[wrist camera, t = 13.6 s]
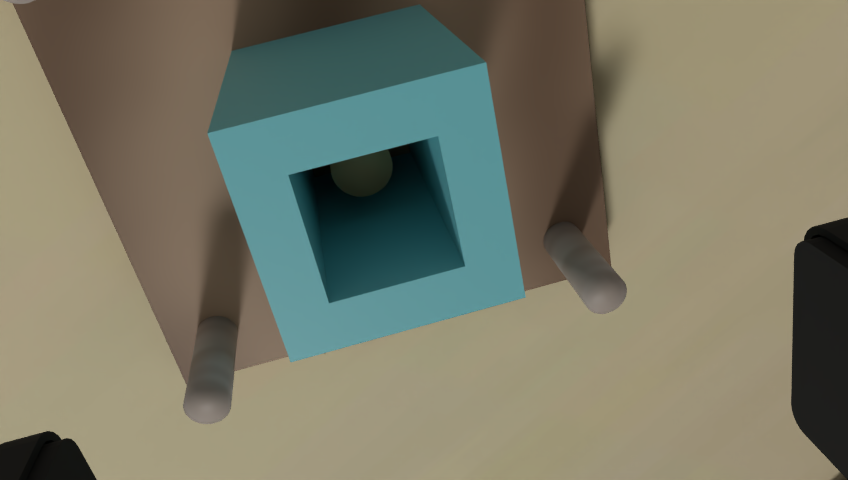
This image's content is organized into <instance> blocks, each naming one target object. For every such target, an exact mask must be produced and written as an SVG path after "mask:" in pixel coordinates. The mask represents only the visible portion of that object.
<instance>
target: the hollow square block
mask: <svg viewBox="0 0 848 480" xmlns="http://www.w3.org/2000/svg"><path fill="white" fill-rule="evenodd" d="M207 134H208V137H209V139H210V142H211V145H212V148H213V150H214V153H215V156H216V159H217V161H218V164H219V167H220V170H221V172H222V175H223V178H224V181H225V183H226V186H227V189H228V192H229V194H230V197H231V200H232V203H233V205H234V208H235V211H236V213H237V216H238V219H239V222H240V224H241V227H242V230H243V233H244V235H245V238H246V241H247V244H248V246H249V249H250V252H251V255H252V257H253V260H254V263H255V266H256V268H257V271H258V274H259V277H260V279H261V282H262V285H263V288H264V290H265V293H266V296H267V299H268V301H269V304H270V307H271V310H272V312H273V315H274V318H275V321H276V323H277V326H278V329H279V331H280V334H281V337H282V340H283V342H284V345H285V348H286V351H287V353H288V356H289V359H290V362H294V361H297V360H301V359H304V358H308V357H312V356H315V355H319V354H323V353H326V352H330V351H333V350H337V349H341V348H344V347H348V346H351V345H355V344H359V343H362V342H366V341H370V340H373V339H377V338H380V337H384V336H388V335H391V334H395V333H398V332H402V331H406V330H409V329H413V328H417V327H420V326H424V325H427V324H431V323H435V322H438V321H442V320H445V319H449V318H453V317H456V316H460V315H464V314H467V313H471V312H474V311H478V310H482V309H485V308H489V307H492V306H496V305H500V304H503V303H507V302H511V301H514V300H518V299H521V298H525V291H524V285H523V279H522V273H521V267H520V261H519V255H518V249H517V243H516V237H515V231H514V225H513V219H512V213H511V207H510V201H509V196H508V190H507V184H506V178H505V172H504V166H503V160H502V154H501V148H500V142H499V136H498V130H497V124H496V118H495V112H494V106H493V100H492V94H491V88H490V82H489V76H488V70H487V64H486V62H485V61H484V60H483V59H482V58H481V57H480V56H478V55H477V54H476V53H475V52H474V51H473V50H471V49H470V48H469V47H468V46H467V45H466V44H465V43H463V42H462V41H461V40H460V39H459V38H458V37H457V36H455V35H454V34H453V33H452V32H451V31H450V30H448V29H447V28H446V27H445V26H444V25H443V24H442V23H440V22H439V21H438V20H437V19H436V18H435V17H434V16H432V15H431V14H430V13H429V12H428V11H427V10H425V9H424V8H423V7H422V6H421V5H420V4H419V5H415V6H411V7H406V8H402V9H398V10H394V11H390V12H386V13H382V14H378V15H374V16H370V17H366V18H362V19H358V20H354V21H350V22H346V23H342V24H338V25H334V26H330V27H326V28H322V29H318V30H314V31H310V32H306V33H302V34H298V35H294V36H290V37H286V38H282V39H278V40H273V41H269V42H265V43H261V44H257V45H253V46H249V47H245V48H241V49H237V50H233V51H231V55H230V58H229V62H228V65H227V68H226V72H225V75H224V78H223V82H222V85H221V89H220V92H219V95H218V99H217V102H216V106H215V109H214V112H213V116H212V119H211V122H210V126H209V129H208V133H207ZM405 144H409V148H410V153H406V154H402V155H398V156H394V157H391V159H392V164H393V169H392V175H391V177H390V180H389V181H388V183H387V184H386V186H385V187H384V188H383V189H381V190H380V191H379V192H377V193H375V194H373V195H370V196H365V197H357V196H352V195H349V194H347V193H345V192H343V191H342V190H341V189H340V188H339V187H338V186H337V185H336V184H335V182H334V180H333V178H332V174H331V173H329V174H325V175H322V176H318V177H314V174H313V170H312V169H313V168H317V167H321V166H325V165H329V164H332V163H336V162H340V161H344V160H348V159H352V158H355V157H359V156H363V155H367V154H371V153H375V152H379V151H382V150H386V149H390V148H394V147H398V146H402V145H405Z"/></svg>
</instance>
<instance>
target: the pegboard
mask: <svg viewBox="0 0 848 480" xmlns="http://www.w3.org/2000/svg"><path fill="white" fill-rule="evenodd" d="M5 1H7V2H10V3H13V5H14V7H15V9H16V12H17V14H18V16H19V18H20V20H21V23H22V25H23V27H24V29H25V31H26V34H27V36H28V38H29V40H30V42H31V45H32V47H33V49H34V51H35V53H36V56H37V58H38V60H39V62H40V64H41V66H42V69H43V71H44V73H45V75H46V77H47V80H48V82H49V84H50V86H51V88H52V91H53V93H54V95H55V97H56V99H57V102H58V104H59V106H60V108H61V110H62V113H63V115H64V117H65V119H66V121H67V124H68V126H69V128H70V130H71V132H72V134H73V137H74V139H75V141H76V143H77V145H78V148H79V150H80V152H81V154H82V156H83V159H84V161H85V163H86V165H87V167H88V170H89V172H90V174H91V176H92V178H93V181H94V183H95V185H96V187H97V189H98V192H99V194H100V196H101V198H102V200H103V202H104V205H105V207H106V209H107V211H108V213H109V216H110V218H111V220H112V222H113V224H114V227H115V229H116V231H117V233H118V235H119V238H120V240H121V242H122V244H123V246H124V249H125V251H126V253H127V255H128V257H129V260H130V262H131V264H132V266H133V268H134V270H135V273H136V275H137V277H138V279H139V281H140V284H141V286H142V288H143V290H144V292H145V295H146V297H147V299H148V301H149V303H150V306H151V308H152V310H153V312H154V314H155V317H156V319H157V321H158V323H159V325H160V328H161V330H162V332H163V334H164V336H165V338H166V341H167V343H168V345H169V347H170V349H171V352H172V354H173V356H174V358H175V360H176V363H177V365H178V367H179V369H180V371H181V374H182V376H183V378H184V380H185V382H186V384H187V388H186V393H185V398H184V404H183V408H184V411H185V413H186V415H187V416H188V417H189V418H190V419H192V420H193V421H195V422H198V423H202V424H212V423H216V422H219V421H221V420H222V419H224V418H225V417H226V416H227V415H228V413H229V412H230V409H231V400H232V390H233V380H234V371H237V370H241V369H244V368H248V367H251V366H255V365H259V364H262V363H266V362H270V361H273V360H277V359H280V358H284V357H288V353H287V351H286V348H285V345H284V342H283V340H282V337H281V334H280V331H279V329H278V326H277V323H276V321H275V318H274V315H273V312H272V310H271V307H270V304H269V301H268V299H267V296H266V293H265V290H264V288H263V285H262V282H261V279H260V277H259V274H258V271H257V268H256V266H255V263H254V260H253V257H252V255H251V252H250V249H249V246H248V244H247V241H246V238H245V235H244V233H243V230H242V227H241V224H240V222H239V219H238V216H237V213H236V211H235V208H234V205H233V203H232V200H231V197H230V194H229V192H228V189H227V186H226V183H225V181H224V178H223V175H222V172H221V170H220V167H219V164H218V161H217V159H216V156H215V153H214V150H213V148H212V145H211V142H210V139H209V137H208V134H207V133H208V129H209V126H210V122H211V119H212V116H213V112H214V109H215V106H216V102H217V99H218V95H219V92H220V89H221V85H222V82H223V78H224V75H225V72H226V68H227V65H228V62H229V58H230V55H231V51H233V50H237V49H241V48H245V47H249V46H253V45H257V44H261V43H265V42H269V41H273V40H278V39H282V38H286V37H290V36H294V35H298V34H302V33H306V32H310V31H314V30H318V29H322V28H326V27H330V26H334V25H338V24H342V23H346V22H350V21H354V20H358V19H362V18H366V17H370V16H374V15H378V14H382V13H386V12H390V11H394V10H398V9H402V8H406V7H411V6H415V5H419V4H420V5H421V6H422V7H423V8H424V9H425V10H427V11H428V12H429V13H430V14H431V15H432V16H434V17H435V18H436V19H437V20H438V21H439V22H440V23H442V24H443V25H444V26H445V27H446V28H447V29H448V30H450V31H451V32H452V33H453V34H454V35H455V36H457V37H458V38H459V39H460V40H461V41H462V42H463V43H465V44H466V45H467V46H468V47H469V48H470V49H471V50H473V51H474V52H475V53H476V54H477V55H478V56H480V57H481V58H482V59H483V60H484V61H485V62H486V64H487V70H488V76H489V82H490V88H491V94H492V100H493V106H494V112H495V118H496V124H497V130H498V136H499V142H500V148H501V154H502V160H503V166H504V172H505V178H506V184H507V190H508V196H509V201H510V207H511V213H512V219H513V225H514V231H515V237H516V243H517V249H518V255H519V261H520V267H521V273H522V279H523V285H524V291H527V290H530V289H534V288H538V287H541V286H545V285H549V284H552V283H556V282H559V281H563V280H568V281H569V283H570V284H571V286H572V287H573V288H574V290H575V291H576V292H577V294H578V295H579V297H580V298H581V299H582V301H583V302H584V304H585V305H586V306H587V308H588V309H589V310H590V311H592V312H594V313H598V314H605V313H609V312H611V311H613V310H615V309H616V308H618V307H619V306H620V305H621V304H622V302H623V301H624V299H625V297H626V293H627V288H626V284H625V283H624V281H623V280H622V279H621V278H620V276H619V275H618V274H617V273H616V272H615V271H614V269H613V268H612V267H611V260H610V250H609V240H608V230H607V220H606V210H605V200H604V190H603V180H602V170H601V160H600V150H599V140H598V130H597V120H596V110H595V100H594V90H593V80H592V70H591V60H590V50H589V40H588V30H587V20H586V10H585V0H5ZM406 153H410V148H409V144H405V145H402V146H398V147H394V148H390V149H386V150H382V151H379V152H375V153H371V154H367V155H363V156H359V157H355V158H352V159H348V160H344V161H340V162H336V163H332V164H329V165H325V166H321V167H317V168H313V169H312V170H313V174H314V177H318V176H322V175H325V174H329V173H331V174H332V178H333V180H334V182H335V184H336V185H337V186H338V187H339V188H340V189H341V190H342V191H343V192H345V193H347V194H349V195H352V196H357V197H365V196H370V195H373V194H375V193H377V192H379V191H380V190H381V189H383V188H384V187H385V186H386V184H387V183H388V181H389V180H390V177H391V175H392V169H393V164H392V159H391V157H394V156H398V155H402V154H406Z"/></svg>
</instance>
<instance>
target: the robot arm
mask: <svg viewBox="0 0 848 480" xmlns="http://www.w3.org/2000/svg"><path fill="white" fill-rule="evenodd" d="M791 405H792V411H793V415H794V418H795V420H796V422H797V424H798V426H799V428H800V429H801V430H802V432H803V433H804V434H805V435H806V436H807V437H808V438H809V439H810V440H811V441H812V443H813V444H814V445H815V446H816V447H817V448H818V449H819V450H820V451H821V452H822V453H823V454H824V455H825V456H826V457H827V458H828V459H829V460H830V462H831V463H832V464H833V465H834V466H835V467H836V468H837V469H838V470H839V471H840V472H841V473H842V474H843V475H844V476H845V477H846V478H847V480H848V218H844V219H840V220H837V221H833V222H829V223H825V224H822V225H818V226H814V227H812V228H810V229H809V230H808V231H807V233H806V235H805V237H804V241H802V242H800V243H798V244H797V246H796V248H795V253H794V293H793V344H792V395H791ZM0 480H96V478H95V476H94V474H93V472H92V471H91V469H90V467H89V465H88V463H87V462H86V460H85V458H84V456H83V454H82V453H81V451H80V449H79V447H78V446H77V444H76V443H75V442H74V441H73V440H72V439H67V438H66V439H63V440H61V438H60V437H59V436H58V435H57V434H55V433H54V432H50V431H47V432H43V433H39V434H35V435H32V436H28V437H24V438H20V439H17V440H13V441H9V442H5V443H3V444H1V445H0Z"/></svg>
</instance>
